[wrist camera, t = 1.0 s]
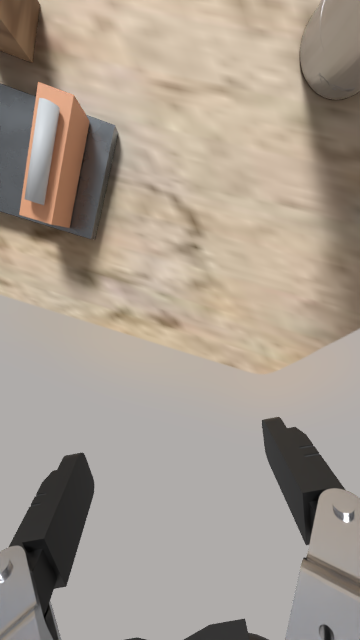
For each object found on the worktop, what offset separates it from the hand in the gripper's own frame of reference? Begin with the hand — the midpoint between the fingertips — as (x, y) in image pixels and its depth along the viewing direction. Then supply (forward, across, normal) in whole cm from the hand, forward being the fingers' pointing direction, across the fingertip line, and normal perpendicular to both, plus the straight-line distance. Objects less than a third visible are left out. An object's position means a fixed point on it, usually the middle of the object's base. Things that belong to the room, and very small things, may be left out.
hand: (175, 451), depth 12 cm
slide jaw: (+23, +8, -18) cm, 30 cm away
